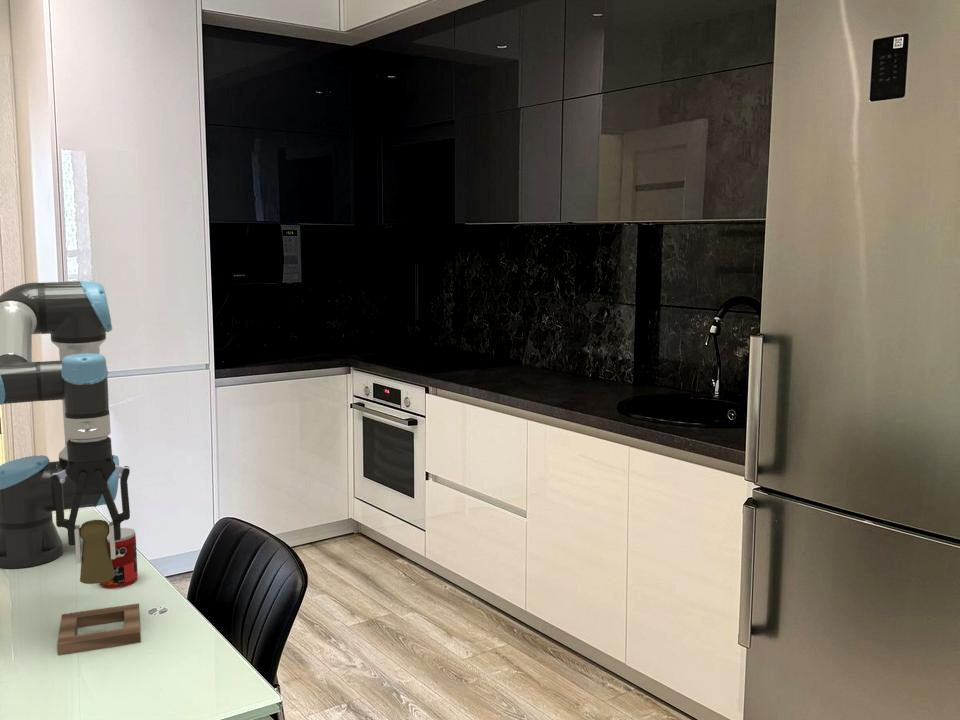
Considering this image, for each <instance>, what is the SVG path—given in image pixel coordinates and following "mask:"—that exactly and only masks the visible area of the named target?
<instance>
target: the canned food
mask: <svg viewBox="0 0 960 720" xmlns="http://www.w3.org/2000/svg"><path fill="white" fill-rule="evenodd" d="M120 528H121V538H120V540H115V554H116V555H115V559H111V560H112V565H113V569H114V574H115V576H114V578H113V579H111V580H109V581H106V582H103V583H99V585H100V586H101V587H102V588H107V589H118V587H119V588H123V586H124V587H127V586H129V585H132V584H134V583H135V582H136V581H137V579H138V576H139V575H138V572H139V571H138V559H137V558H138V555H137V539H136V537H137V535H136V531H135V529H133V528H130V527H129V528H128V527H120ZM107 540H108V545H109V550H110V533H109V535H108V536H107ZM110 555H111V550H110ZM126 585H127V586H126Z"/></svg>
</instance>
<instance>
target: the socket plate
mask: <svg viewBox="0 0 960 720" xmlns="http://www.w3.org/2000/svg"><path fill="white" fill-rule="evenodd" d="M140 613H141V611H140V603H132V604H125V605H118V606H111V607H104V608H97V609H91V610H89V609H88V610H83V611H82V610H81V611H76V612H67V613H62V614H61V620H60V624H59V631H58V637H57V642H56V652H57V656H60V655H68V654H73V653H81V652H87V651H92V650H94V651H95V650H101V649H106V648H112V647H121V646H125V645H133V644H137V643H141V642H142V641H141V619H140V618H141V616H140V615H141V614H140ZM116 622H117V623H118V622H123V623H124V625H123V626H124V627H123V628H119V629H118V628H117V629H111V630H104V631H98V632H97V631H96V632H92V633H86V634H77V633H78V628H81V627H82V628H84V627H89V626H97V625H103V624H110V623H111V624H112V623H116Z"/></svg>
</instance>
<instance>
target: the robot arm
mask: <svg viewBox="0 0 960 720" xmlns="http://www.w3.org/2000/svg"><path fill="white" fill-rule="evenodd" d="M112 330H113V324H112V317H111V314H110V308H109V304H108V298H107V294H106V289H105V288H104V286H103V284H101V283H100V282H95V281H83V280H78V281H76V280H75V281H55V282H54V281H53V282H52V281H51V282H50V281H49V282H28V283H23V284H19V285H17V286H14V287H12V288H9V289H8V290H7V291H4V292H3V293H1V294H0V406H1V405H2V406H3V405H8V404H9V405H10V404H19V403H20V404H21V403H33V402H45V401H62V416H63V418H62V419H63V432H64V445H65V446H64V448H62V450H61V451H59V453H58V460H56V461H50V458H49V456H47V455H29V456H25V457H21V458H16V459H13V460H10V461H7V462H5V463H3V464H1V465H0V568H1V569H21V568H30V567H34V566H39V565H43V564H47V563H50V562H51V561H55V560H56V559H58V558H59V557H61V556H62V555H63V554H64V548H63V541H62V539H61V537H60V534H59V532H58V530H57V528H56V527H58V528H64V529H66V530H67V538H68V539H67V541H68V542H67V543H68V545H69V546H74V547H75V558H76V559H75V563H76V564H81V561H82V541H81V540H82V539H81V537H80V533H79V530H80V527H81V525H80V524H78V525H77V524H76V521H77V517H78V514H79V513H78V512H79V509H83V508H92V507H93V508H96V507H98V506H106V507H107V510H108V513H109V516H110V519H111V521H109V522H108V524H109V533H110V550H111V559H115V555H116V554H115V540H120V538H121V528H122V527H121V524H122V522H125V521H128V520H129V519H130V518H131V511H130V500H129V486H128V479H129V476H130V472H131V470H130V469H131V468H130V466H129V465H125V466H122V465H120V459H119V456H118V455H115V454H113V450H112V449H113V448H112V438H111V437H110V434H111V431H112V430H111V416H110V415H111V414H110V407H109V406H110V405H109V403H110V401H109V384H108V383H109V381H108V379H109V378H108V375H109V371H108V366H107V360H106V359H107V358H106V356H105V355H103V354H101V353H100V351H101V350H100V347H101V345H102V344H103V343H104V342H105V341H106V339H107V337H106V336H107V333H109V332H111V331H112ZM40 334H41V335H49V334H50V341H51V343H52V344H53V345H55V346H56V347H57V348H58V355H59V360H50V361H47V360H45V361H33V349H32V348H33V343H32V342H33V341H32V340H33V339H32V337H33V335H40ZM119 479H120V480H119ZM119 484H120V497H121V509H122V512H121V513H119V511H118V509H117V506H116V503H115V500H116V498H117V495H118V491H119V489H118V488H119ZM67 510H70V513H69V517H68V519H67V518H65V511H67ZM53 512H55V523H56V526H55V524H54V521H53Z"/></svg>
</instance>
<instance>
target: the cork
mask: <svg viewBox="0 0 960 720" xmlns="http://www.w3.org/2000/svg"><path fill="white" fill-rule="evenodd" d="M79 533H80V539H81V540H82V548H81V556H82V560H81V563H80V574H79V575H80V576H79V582H80V583H82V584H85V585H86V584H87V585H95V584H96V585H97V584H100V583H103V582H106V581H109V580H111V579H113V578H114V576H115V574H114V569H113V565H112V560H111V555H110V550H109V545H108V540H107V536H108V535H109V522H107V521H106V520H104V519H90V520H88V521H85V522H83V523H81V525H80V530H79Z"/></svg>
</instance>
